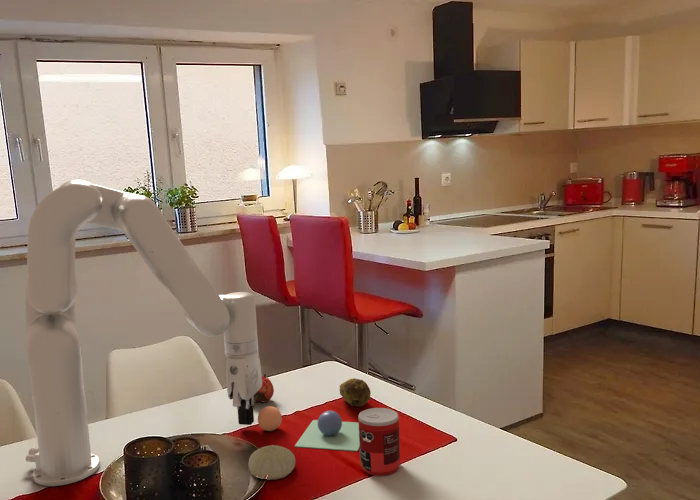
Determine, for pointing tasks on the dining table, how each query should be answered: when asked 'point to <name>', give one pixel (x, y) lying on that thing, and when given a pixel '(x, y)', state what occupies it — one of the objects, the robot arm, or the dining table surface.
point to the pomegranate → (264, 391)
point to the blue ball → (329, 423)
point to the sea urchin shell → (272, 462)
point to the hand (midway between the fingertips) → (246, 423)
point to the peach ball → (269, 418)
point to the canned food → (379, 441)
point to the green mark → (331, 438)
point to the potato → (355, 392)
